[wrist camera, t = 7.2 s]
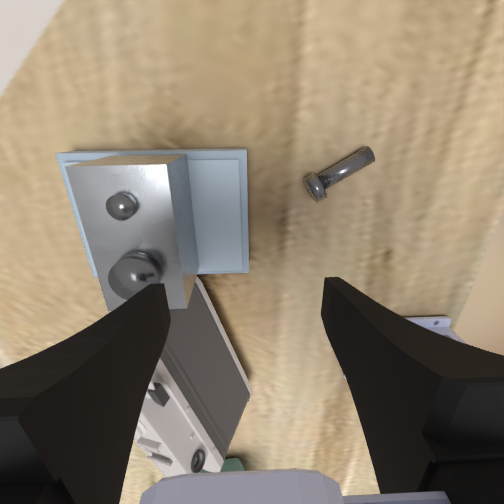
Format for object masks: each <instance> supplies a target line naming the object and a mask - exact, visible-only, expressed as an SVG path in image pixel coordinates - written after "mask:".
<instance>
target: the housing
mask: <svg viewBox="0 0 504 504" xmlns="http://www.w3.org/2000/svg"><path fill="white" fill-rule="evenodd" d="M65 169H66V172H67V176H68V179H69V182H70V186H71V189H72V192H73V195H74V199H75V202H76V205H77V209H78V212H79V215H80V219H81V222H82V225H83V229H84V232H85V235H86V239H87V242H88V245H89V249H90V252H91V255H92V258H93V262H94V265H95V268H96V272H97V275H98V278H99V282H100V285H101V288H102V292H103V295H104V298H105V302H106V305H107V308H108V311H113V310H115V309H116V308H117V307H119V306H120V305H121V304H123V303H124V302H126V301H127V300H128V299H130V298H131V297H132V296H134V295H135V294H136V293H138V292H139V291H140V290H142V289H143V288H145V287H146V286H148V285H149V284H156V283H164V285H165V290H166V295H167V301H168V306H169V309H187V307H188V304H189V300H190V297H191V293H192V290H193V287H194V283H195V280H196V276H197V273H198V270H199V261H198V252H197V243H196V234H195V225H194V216H193V207H192V198H191V189H190V180H189V171H188V162H187V154H161V155H112V156H108V157H104V158H99V159H95V160H91V161H86V162H82V163H78V164H73V165H69V166H65Z"/></svg>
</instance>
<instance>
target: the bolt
mask: <svg viewBox="0 0 504 504" xmlns="http://www.w3.org/2000/svg"><path fill="white" fill-rule="evenodd" d="M374 161H375V157H374V154H373V152H372V150H371V149H370V148H369V147H368V146H366V147H365V148H363V149H361V150H359V151H358V152H356V153H354V154H353V155H351V156H349V157H348V158H346V159H344V160H342V161H341V162H339V163H337V164H336V165H334V166H332V167H330V168H329V169H327V170H325V171H324V172H322V173H320V174H319V175H316V174H315V173H312V174H310V175H309V176H307V177H305V178H304V182H305V185H306V187H307V189H308V191H309V192H310V194H311V196H312V198H313V199H314V201H315V202H316V203H317V202H319V201H321V200H323V199H325V198H326V197H327V194H326V191H325V189H327V188H329V187H331V186H332V185H334V184H336V183H338V182H339V181H341V180H343V179H345V178H346V177H348V176H350V175H352V174H353V173H355V172H357V171H359V170H360V169H362V168H364V167H366V166H367V165H369V164H371V163H373V162H374Z"/></svg>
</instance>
